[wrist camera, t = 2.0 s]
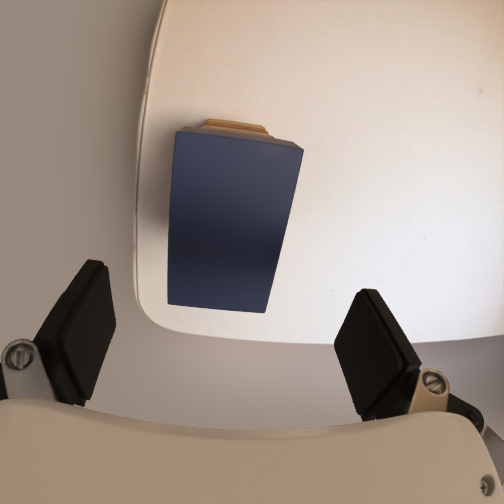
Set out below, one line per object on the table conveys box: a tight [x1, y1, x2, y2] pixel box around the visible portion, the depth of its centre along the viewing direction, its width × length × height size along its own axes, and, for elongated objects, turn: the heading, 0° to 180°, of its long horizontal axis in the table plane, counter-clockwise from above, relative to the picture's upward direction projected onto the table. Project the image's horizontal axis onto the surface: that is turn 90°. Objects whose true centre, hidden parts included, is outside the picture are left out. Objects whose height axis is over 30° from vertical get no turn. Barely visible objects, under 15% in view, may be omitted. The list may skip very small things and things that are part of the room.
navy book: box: [167, 127, 304, 313], centre depth 16 cm, size 10×6×2 cm, turn 170°
